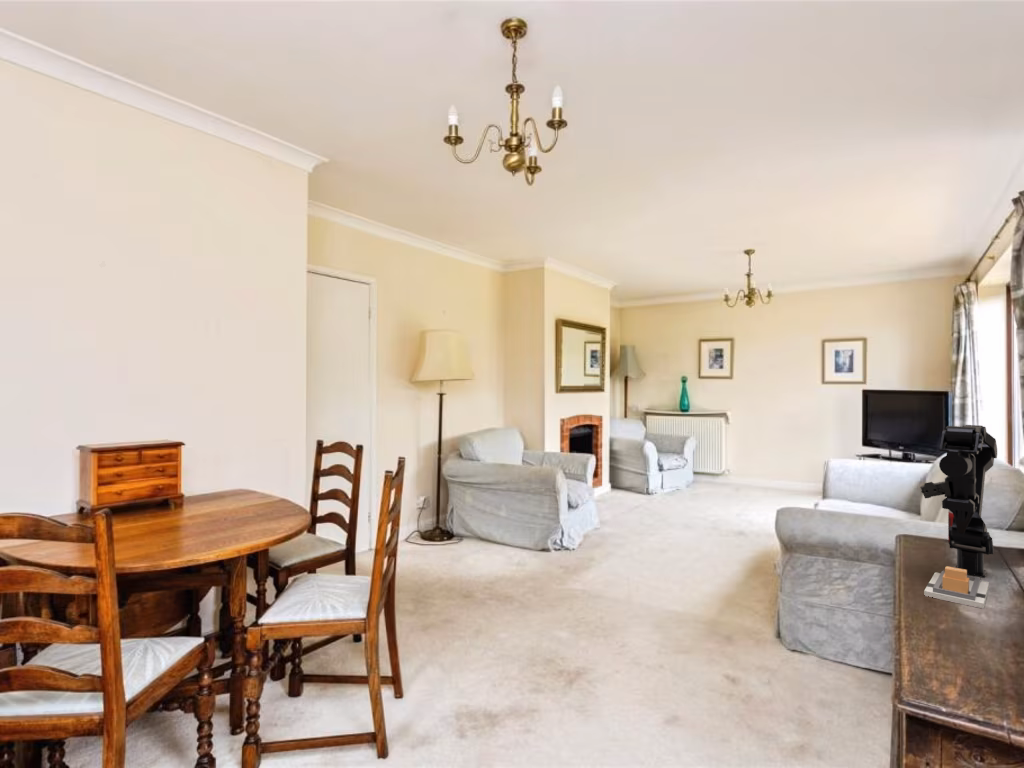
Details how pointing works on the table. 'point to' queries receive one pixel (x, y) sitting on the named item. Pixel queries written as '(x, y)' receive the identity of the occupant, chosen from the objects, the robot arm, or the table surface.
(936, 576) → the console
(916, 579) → the table surface
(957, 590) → the fader knob
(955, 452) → the robot arm
